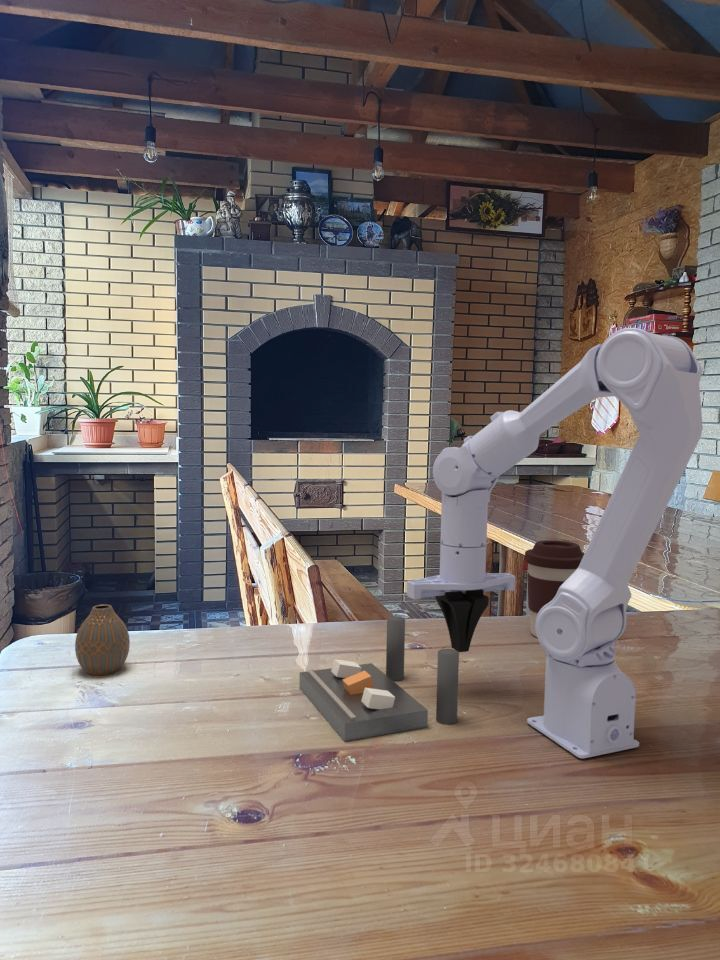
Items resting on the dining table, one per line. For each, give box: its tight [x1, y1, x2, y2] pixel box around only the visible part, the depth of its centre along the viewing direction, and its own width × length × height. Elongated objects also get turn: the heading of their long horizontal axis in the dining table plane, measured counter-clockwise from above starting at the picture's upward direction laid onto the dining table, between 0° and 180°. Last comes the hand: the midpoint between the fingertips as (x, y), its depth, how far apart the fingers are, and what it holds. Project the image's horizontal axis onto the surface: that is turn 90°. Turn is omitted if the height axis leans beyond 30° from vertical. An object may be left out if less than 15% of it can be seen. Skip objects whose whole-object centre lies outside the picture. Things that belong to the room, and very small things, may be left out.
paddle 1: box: [331, 658, 361, 678], centre depth 89 cm, size 2×3×2 cm, turn 112°
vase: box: [74, 603, 131, 676], centre depth 95 cm, size 7×7×9 cm
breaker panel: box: [299, 662, 429, 742], centre depth 85 cm, size 16×10×2 cm, turn 22°
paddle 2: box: [361, 688, 395, 709], centre depth 80 cm, size 2×3×2 cm, turn 112°
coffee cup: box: [524, 539, 585, 638], centre depth 113 cm, size 10×10×15 cm
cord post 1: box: [385, 616, 406, 682], centre depth 94 cm, size 2×2×8 cm
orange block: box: [342, 671, 374, 695], centre depth 84 cm, size 2×3×2 cm, turn 112°
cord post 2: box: [435, 648, 460, 725], centre depth 81 cm, size 2×2×8 cm
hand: (460, 649), depth 90 cm, fingers closed
